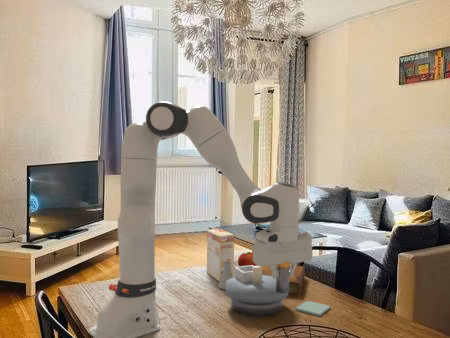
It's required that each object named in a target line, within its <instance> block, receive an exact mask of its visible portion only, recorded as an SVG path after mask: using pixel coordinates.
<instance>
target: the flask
mask: <svg viewBox="0 0 450 338" xmlns="http://www.w3.org/2000/svg"><path fill="white" fill-rule="evenodd" d="M223 264H224V269H223V274H222V277H221V279H220V282H219V281H218V285H217V286H218V289H220V290H225V291H226V281H227V280H229V279H230V278H232V274H231V270H230V265H231V262H223Z"/></svg>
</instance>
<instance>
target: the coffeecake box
mask: <svg viewBox="0 0 450 338" xmlns="http://www.w3.org/2000/svg"><path fill="white" fill-rule="evenodd" d="M234 261H235V234H233V233H231V232H229V231H226V230H224V229H222V228H213V229H211V228H210V229H207V230H206V273H208V274H209V276H211V277H212V278H214V280H216V281H217V282H218V283H219V282H220V279H221V277H222V274H223V269H224V264H223V262H231V265H230V270H231V274H232V278H233V277H234V266H235V262H234Z"/></svg>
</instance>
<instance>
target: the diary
mask: <svg viewBox="0 0 450 338" xmlns="http://www.w3.org/2000/svg"><path fill="white" fill-rule="evenodd" d="M290 266H291V265H290ZM261 270H262V275H268V276H272V271H271V269H270V267H269V265H267V266H261ZM275 270H276V272H277V267H276V268H275ZM304 280H305V266H302V265H297V267H296V268H295V270H294V274H293V276H292V277H289V292H288V296H289V295H290V296H298V297H299V296H300V295H301V292H302V287H303V284H304Z"/></svg>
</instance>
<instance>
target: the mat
mask: <svg viewBox="0 0 450 338" xmlns="http://www.w3.org/2000/svg"><path fill="white" fill-rule="evenodd" d="M329 310H331V305H328V304H323V303H319V302H315V301H311V300H310V301H309V300H306V301H304V302H303V303H301V304H300V305H297V307H295V311H298V312H301V313H305V314H308V315H309V314H310V315H314V316H316V317H317V316H318V317H321V316H323V314H325V313H326V312H328V311H329Z"/></svg>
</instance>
